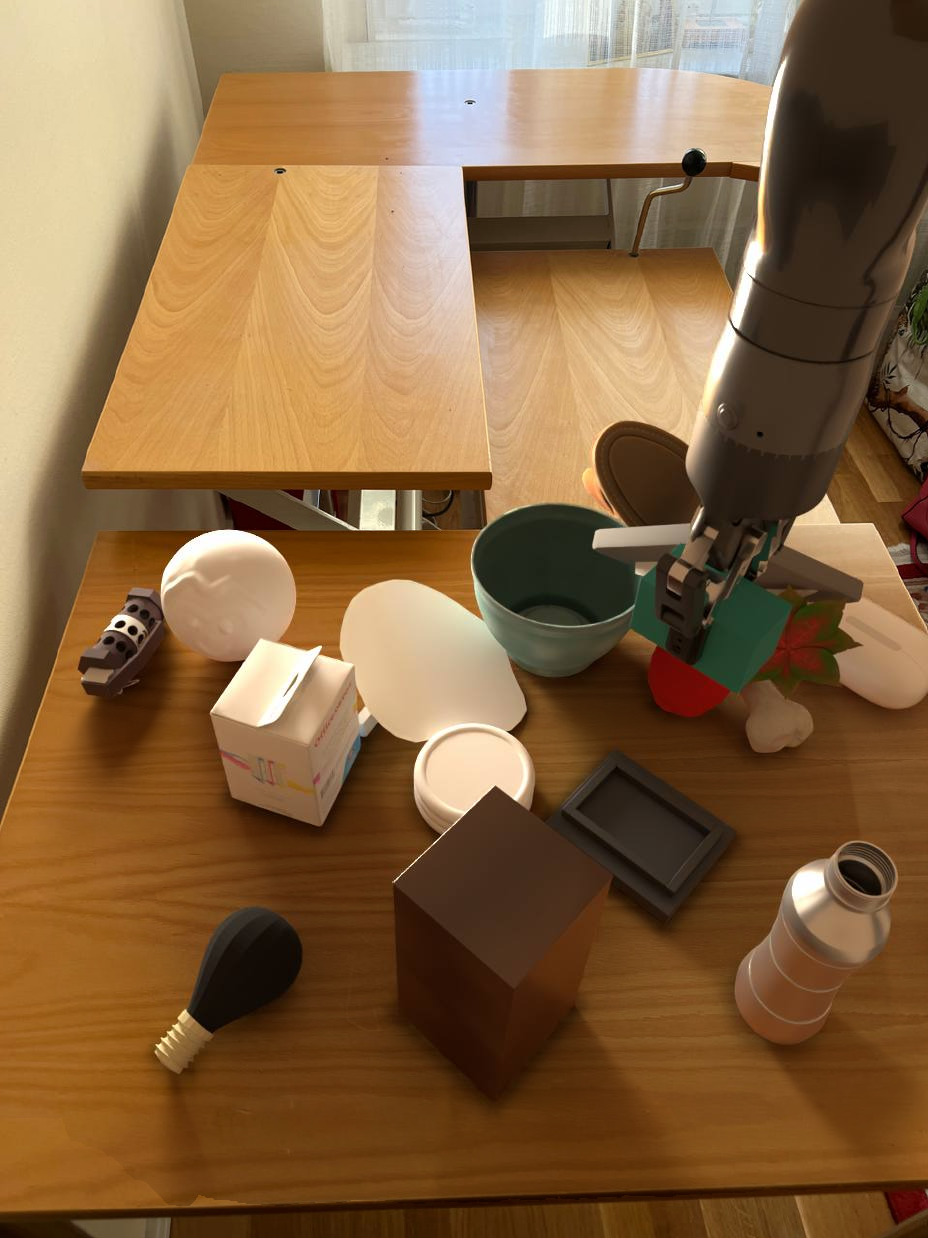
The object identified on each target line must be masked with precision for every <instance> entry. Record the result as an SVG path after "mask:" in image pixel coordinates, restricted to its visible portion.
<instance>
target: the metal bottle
mask: <svg viewBox="0 0 928 1238" xmlns="http://www.w3.org/2000/svg"><path fill="white" fill-rule="evenodd" d="M898 881H899V874H898V870H897V867H896V865H895V862H894V861H893V860H892V858H891V857H890V855H889V854H887V852H886V851H884V850H883V849H882V848H881V847H879V846H877V845H875V844H873V843H871V842H868V841H866V840H865V841H864V840H850V841H848V842H845V843H843V844H842V845H841V846H839V847H838V849H836V851H835V853H833V854H831V856H830V857H829V858H821V859H816V860H814V861H810V862H808V863H806V864H805V865H803V866H801V867H800V868H799V869H798V870H796V871H794V873H793V874H792V875H791V877H790V878H789V879H788V882H787V884H786V885H785V888H784V891H783V893H782V898H781V901H780V906H779V908H778V909H779V910H778V913H777V915H776V918H775V921H774V923H773V925H772V928H771V930H770V932H768V934H767V936H766V937H765V938H764V939H763V940H762V941H761V943H759V944H758V945H756V946H755V947H754V948H752V949H751V950H750V952H748V954H747V955H745V957H744V958H743V959H742V960H741V962H740V964H739V966H738V967H737V972H736V977H735V983H734V997H735V1003H736V1006H737V1009H738V1011H739V1013H740V1015H741V1017H742V1019H743V1020H744V1021H745V1023H746V1024H747V1025H748V1027H749V1028H751V1029H752V1030H753V1031H754V1033H755V1034H757V1035H759V1036H760V1037H762V1038H763V1039H765V1040H768V1041H770V1042H771V1043H775V1044H778V1045H787V1046H789V1045H795V1044H799V1043H802V1042H804V1041H806V1040H808V1039H810V1038H812V1037H813V1036H815V1035H816V1034H818V1032H819V1031H820V1030H821V1029H822V1028H823V1027H824V1025H825V1023H826V1021H827V1019H828V1017H829V1014H830V1012H831V1009H832V1005H833V1001H834V999H835V997H836V995H837V993H838V991H839V989H840V988H841V986H842V985H843V984H844V983H845V982H846V981H847V980H848V979H849V978H850V977H851V976H852V975H853V974H854V973H855V972H857V971H858V970H859V969H861V968H862V967H864V966H865V965H866V964H868V963H869V962H871V961H872V960H873V959H874V958H876V956H877V955H878V954H880V953H881V952H882V951H883V949H884V948H885V946H886V945H887V942H888V940H889V938H890V931H891V924H892V913H891V912H892V911H891V908H890V907H891V906H890V904H889V902H890V899H891V897H892V894H893V893H894V892H895V891H896V888H897V886H898V883H899V882H898Z"/></svg>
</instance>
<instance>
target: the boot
mask: <svg viewBox="0 0 928 1238" xmlns="http://www.w3.org/2000/svg"><path fill="white" fill-rule="evenodd" d="M688 448H689V444H687V442H685V441H684V440H682V439H681V438H680V437H677V436H676V435H675V434H672V433H670V432H669V431H666V430H664V429H662V428H660V427H658V426H656V425H652V424H649V423H646V422H642V421H637V420H629V419H625V420H619V421H615V422H614V421H613V422H612V423H610V424H608V425H607V426H605V428H603V429H602V430H600V432H598V433H597V434H596V436H595V437H594V438H593V441H592V443H591V445H590V451H589V459H590V465H591V467H588V468H586V469H585V470H584V472H583V473H582V477H581V478H582V484H583V485H584V488H585V489H586V491H587V492H588V494H589V495H590V496H591V498H592V499H593V500H594V501H595V502H596V503H597V504H598V505H600V506H601V507H602V508H603V509H605V510H606V511H608V512H609V513H610V514H612V515H613V517H614V518H616V519H618V520H619V521H621V522H622V523H624V524H625V525H626V526H627V527H643V526H659V525H674V524H690V523H691V521H692V519H693V516H694V514H695V512H696V510H697V508H698V506H699V505H700V503H701V502H702V501H701V499H700V497H699V495H698V493H697V491H696V489H695V488H694V486H693V484H692V483H691V481H690V479H689V477H688V474H687V470H686V456H687V452H688Z"/></svg>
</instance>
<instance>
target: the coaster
mask: <svg viewBox="0 0 928 1238" xmlns="http://www.w3.org/2000/svg"><path fill="white" fill-rule="evenodd" d="M494 785H496V786H497V787H498V788H500V789H501V790H502V791H504V792H505V793H506V794H508V795H509V796H510V797H512V798H513V799H514V800H515V801H517V802H518V803H519V804H521V805H522V806H523V807H525V808H526V809H527V810H529V811H530V809H531V807H532V804H533V797H534V791H535V785H536V771H535V766H534V763H533V760H532V758H531V755H530V753H529V752H528V751H527V749H526V747H525V746H524V744H522V742H521V741H520V740H518V739H517V738H516V737H515V736H514V735H512V734H511V733H509V732H508V731H506V732H505V731H503V730H501V729H499V728H496V727H493V726H489V725H483V724H462V725H457V726H453V727H450V728H448V729H445V730H443V731H441V732H439V733H438V734H436V735H435V736H434V737H432V738H431V739H430V740H427V742H426V743H425V744H424V746H423V747H422V748H421V750H420V752H419V754H418V755H417V758H416V761H415V763H414V770H413V796H414V801H415V804H416V807H417V810H418V811H419V813H420V815H421V817H422V818H423V819H424V821H425V822H426V823H427V825H428V826H429V827H431V829H433V830H434V831H436V832H437V833H439V835H441V836H442V835H443V834H444V833H445V832H446V831H447V830H448V829H449V828H450V827H452V826H453V825H454V824H455V823H456V822H457V821H458V820H459V819H460V818H461V817H462V816H463V815H464V814H465V813H466V812H467V811H468V810H469V809H470V808H471V807H472V806H473V805H475V804H476V803H477V802H478V801H479V800H480V799H481V798H482V797H483V796H484V795H485V794H486V793H487V792H488V791H489V790H490V789H491V788H492V787H493V786H494Z"/></svg>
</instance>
